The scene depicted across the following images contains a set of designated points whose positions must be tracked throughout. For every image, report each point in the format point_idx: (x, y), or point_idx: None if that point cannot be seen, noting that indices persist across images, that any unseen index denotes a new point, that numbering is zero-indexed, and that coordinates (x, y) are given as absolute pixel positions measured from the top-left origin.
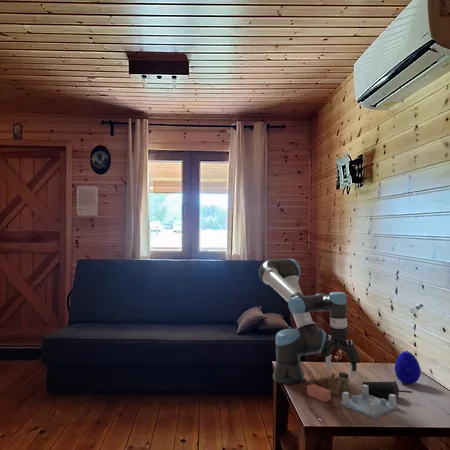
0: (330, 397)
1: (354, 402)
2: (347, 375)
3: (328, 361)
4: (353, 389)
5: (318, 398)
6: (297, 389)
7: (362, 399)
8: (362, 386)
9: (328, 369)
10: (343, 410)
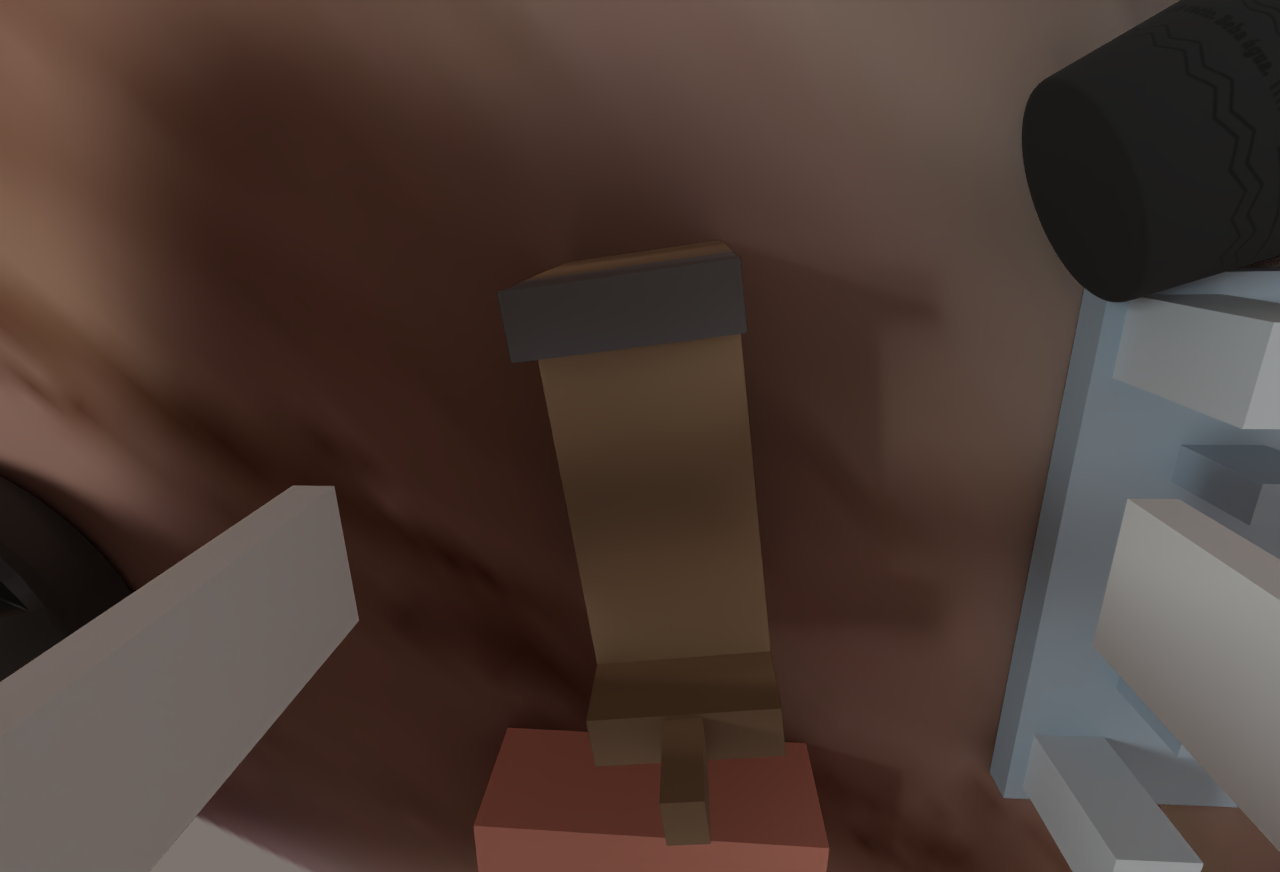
0: (811, 771)
1: None
2: (743, 305)
3: (171, 753)
4: (799, 201)
5: None
6: (331, 793)
7: None
8: (1253, 425)
9: (336, 601)
10: None
